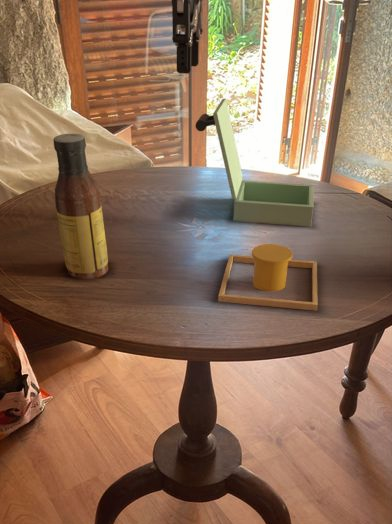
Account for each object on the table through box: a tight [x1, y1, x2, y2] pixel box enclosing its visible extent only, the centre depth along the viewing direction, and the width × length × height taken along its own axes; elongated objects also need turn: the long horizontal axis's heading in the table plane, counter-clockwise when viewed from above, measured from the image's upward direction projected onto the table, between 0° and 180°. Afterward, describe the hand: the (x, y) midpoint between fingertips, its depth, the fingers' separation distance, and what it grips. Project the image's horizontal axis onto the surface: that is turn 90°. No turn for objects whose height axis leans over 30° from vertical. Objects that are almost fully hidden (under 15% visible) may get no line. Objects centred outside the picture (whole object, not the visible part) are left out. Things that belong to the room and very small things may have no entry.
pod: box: [251, 243, 293, 293], centre depth 80 cm, size 6×6×5 cm
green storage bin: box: [232, 179, 315, 228], centre depth 104 cm, size 14×12×4 cm
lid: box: [195, 97, 244, 200], centre depth 100 cm, size 14×12×5 cm
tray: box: [217, 254, 318, 311], centre depth 81 cm, size 13×13×2 cm
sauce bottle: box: [53, 133, 109, 280], centre depth 79 cm, size 7×6×20 cm
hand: (188, 69), depth 93 cm, fingers open, 7 cm apart
